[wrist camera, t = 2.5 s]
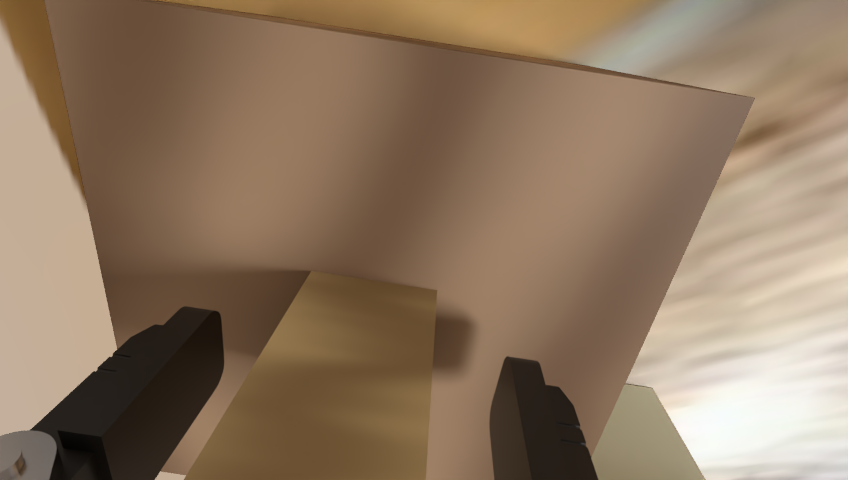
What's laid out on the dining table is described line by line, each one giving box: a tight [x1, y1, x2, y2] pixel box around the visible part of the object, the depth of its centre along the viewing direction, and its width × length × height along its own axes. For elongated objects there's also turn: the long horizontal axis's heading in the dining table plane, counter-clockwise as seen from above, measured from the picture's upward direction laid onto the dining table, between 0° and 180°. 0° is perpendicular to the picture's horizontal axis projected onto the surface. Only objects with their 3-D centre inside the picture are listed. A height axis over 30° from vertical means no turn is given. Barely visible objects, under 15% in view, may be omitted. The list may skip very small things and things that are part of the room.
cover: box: [44, 0, 755, 480], centre depth 14 cm, size 14×14×17 cm
